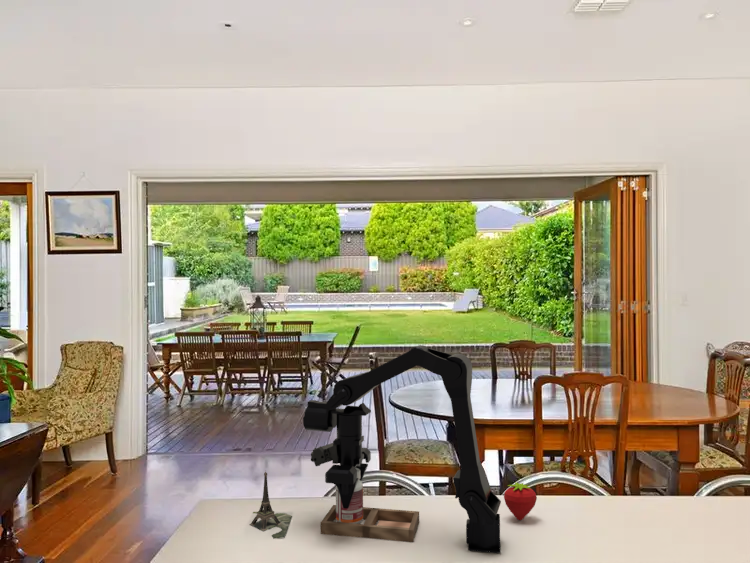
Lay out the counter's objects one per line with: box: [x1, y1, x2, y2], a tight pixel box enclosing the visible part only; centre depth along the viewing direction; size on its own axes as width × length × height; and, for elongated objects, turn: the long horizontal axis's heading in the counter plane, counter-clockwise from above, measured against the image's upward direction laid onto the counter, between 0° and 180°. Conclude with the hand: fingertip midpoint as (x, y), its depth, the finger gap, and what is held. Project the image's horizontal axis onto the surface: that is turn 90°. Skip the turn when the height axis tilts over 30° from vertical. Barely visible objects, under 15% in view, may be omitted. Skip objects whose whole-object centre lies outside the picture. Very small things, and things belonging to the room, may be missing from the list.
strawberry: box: [503, 479, 538, 521], centre depth 133 cm, size 6×8×10 cm
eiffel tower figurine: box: [249, 471, 293, 540], centre depth 130 cm, size 15×10×13 cm
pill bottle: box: [335, 468, 364, 524], centre depth 130 cm, size 6×6×11 cm
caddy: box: [320, 504, 420, 543], centre depth 128 cm, size 20×10×2 cm, turn 79°
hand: (349, 502), depth 130 cm, fingers closed on pill bottle, 6 cm apart
